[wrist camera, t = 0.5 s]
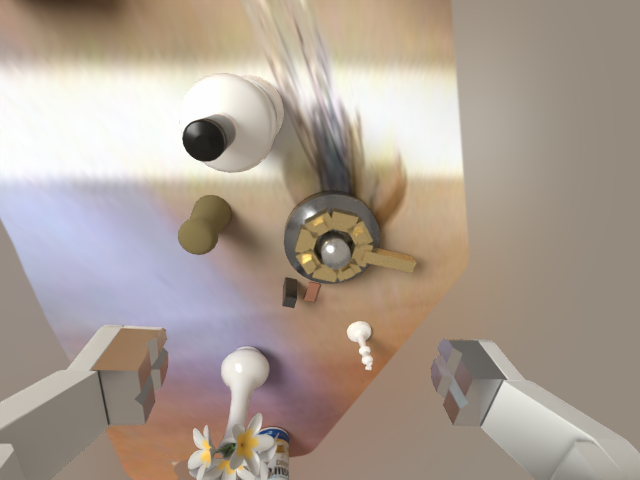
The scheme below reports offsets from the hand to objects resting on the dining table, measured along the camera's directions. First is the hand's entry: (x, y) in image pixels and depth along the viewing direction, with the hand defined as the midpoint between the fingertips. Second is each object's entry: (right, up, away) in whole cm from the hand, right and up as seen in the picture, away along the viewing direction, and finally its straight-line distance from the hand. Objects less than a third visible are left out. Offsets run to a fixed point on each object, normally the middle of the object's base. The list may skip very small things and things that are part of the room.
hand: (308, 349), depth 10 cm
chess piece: (+8, -15, +57) cm, 59 cm away
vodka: (-10, +22, +38) cm, 45 cm away
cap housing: (+1, +1, +48) cm, 48 cm away
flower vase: (-14, -21, +58) cm, 63 cm away
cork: (-17, +8, +44) cm, 48 cm away
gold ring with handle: (+6, +2, +45) cm, 45 cm away
